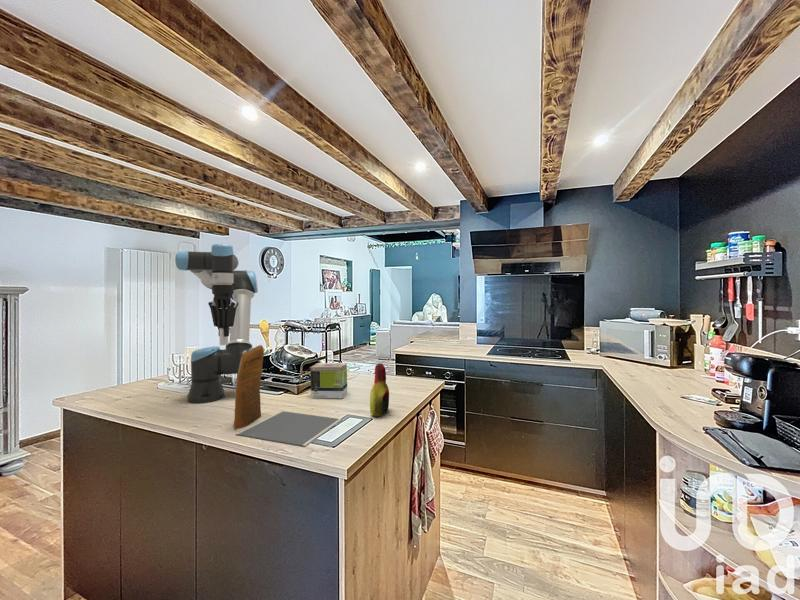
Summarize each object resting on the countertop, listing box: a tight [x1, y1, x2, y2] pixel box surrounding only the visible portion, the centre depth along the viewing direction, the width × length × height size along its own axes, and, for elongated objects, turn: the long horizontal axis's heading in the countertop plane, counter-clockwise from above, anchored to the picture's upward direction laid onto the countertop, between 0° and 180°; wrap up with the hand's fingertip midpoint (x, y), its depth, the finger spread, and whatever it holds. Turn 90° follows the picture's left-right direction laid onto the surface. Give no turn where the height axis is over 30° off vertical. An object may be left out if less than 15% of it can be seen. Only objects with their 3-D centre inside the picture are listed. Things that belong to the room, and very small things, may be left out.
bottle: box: [369, 362, 390, 417], centre depth 141 cm, size 12×6×20 cm, turn 156°
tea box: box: [310, 362, 348, 399], centre depth 165 cm, size 15×10×15 cm, turn 84°
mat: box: [235, 410, 343, 448], centre depth 127 cm, size 28×24×1 cm
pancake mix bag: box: [233, 344, 265, 430], centre depth 133 cm, size 7×19×28 cm, turn 172°
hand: (224, 344), depth 136 cm, fingers closed
